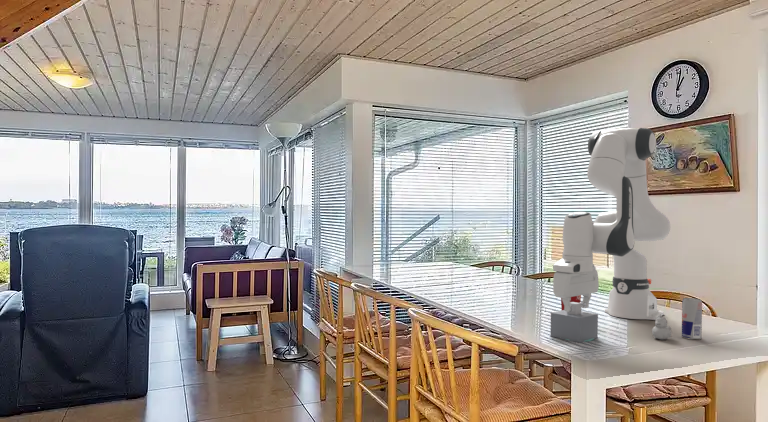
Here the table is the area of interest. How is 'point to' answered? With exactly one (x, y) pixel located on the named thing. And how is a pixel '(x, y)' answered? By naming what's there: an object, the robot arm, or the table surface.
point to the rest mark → (584, 341)
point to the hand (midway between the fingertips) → (576, 309)
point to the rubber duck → (661, 329)
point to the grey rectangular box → (574, 324)
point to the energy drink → (692, 318)
